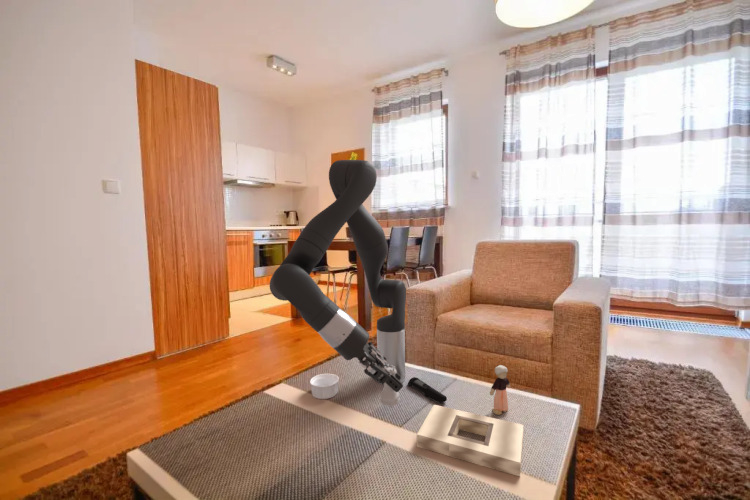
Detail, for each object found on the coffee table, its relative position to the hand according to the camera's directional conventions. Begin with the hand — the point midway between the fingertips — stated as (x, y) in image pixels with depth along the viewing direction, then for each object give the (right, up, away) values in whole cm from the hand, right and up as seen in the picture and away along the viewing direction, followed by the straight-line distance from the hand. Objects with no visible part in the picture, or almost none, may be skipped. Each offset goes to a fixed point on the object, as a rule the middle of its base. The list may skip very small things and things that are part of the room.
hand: (398, 384), depth 75 cm
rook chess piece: (-2, -4, 0) cm, 5 cm away
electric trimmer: (+10, -14, +27) cm, 32 cm away
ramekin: (-21, -14, +28) cm, 38 cm away
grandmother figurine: (+29, -14, +17) cm, 37 cm away
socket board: (+17, -15, +4) cm, 23 cm away
